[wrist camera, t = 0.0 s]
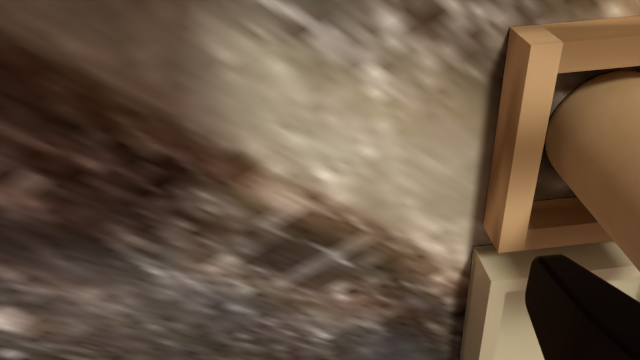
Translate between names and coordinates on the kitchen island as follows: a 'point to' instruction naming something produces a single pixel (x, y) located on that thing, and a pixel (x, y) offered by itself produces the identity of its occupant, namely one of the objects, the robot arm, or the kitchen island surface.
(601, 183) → the candle
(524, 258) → the parts tray
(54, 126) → the kitchen island surface
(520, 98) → the tan shallow square box
